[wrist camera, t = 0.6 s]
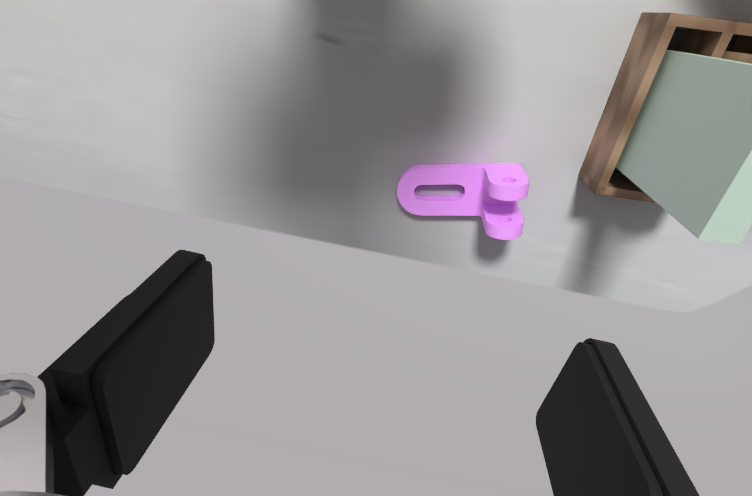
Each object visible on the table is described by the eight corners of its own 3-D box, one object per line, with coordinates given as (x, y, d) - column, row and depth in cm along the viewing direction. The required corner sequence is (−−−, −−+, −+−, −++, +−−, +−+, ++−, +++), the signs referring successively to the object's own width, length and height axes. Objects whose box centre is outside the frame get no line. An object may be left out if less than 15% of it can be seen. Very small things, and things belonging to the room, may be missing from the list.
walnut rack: (642, 12, 35) (670, 12, 31) (753, 27, 35) (797, 29, 31) (578, 175, 43) (594, 193, 39) (669, 188, 43) (695, 208, 38)
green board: (644, 46, 37) (797, 73, 21) (672, 50, 37) (847, 80, 21) (600, 154, 42) (698, 238, 26) (624, 157, 42) (737, 244, 26)
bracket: (519, 162, 43) (533, 186, 37) (513, 210, 46) (525, 240, 40) (397, 164, 45) (391, 188, 39) (398, 210, 48) (393, 239, 42)
